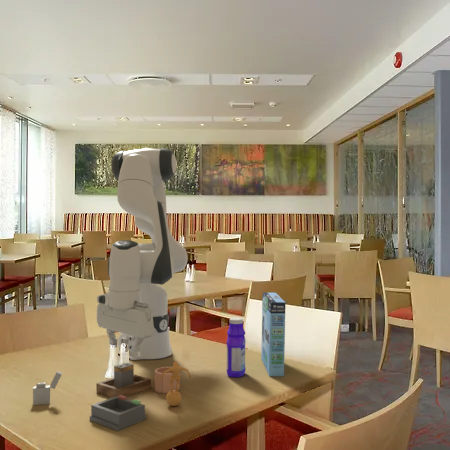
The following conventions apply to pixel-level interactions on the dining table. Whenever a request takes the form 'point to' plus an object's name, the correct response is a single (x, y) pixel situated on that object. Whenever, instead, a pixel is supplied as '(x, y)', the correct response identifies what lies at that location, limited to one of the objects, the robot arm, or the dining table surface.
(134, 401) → the tray
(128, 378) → the battery
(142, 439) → the dining table surface
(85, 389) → the dining table surface
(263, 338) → the gum box
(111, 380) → the brown wooden tray
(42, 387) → the lighter
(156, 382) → the pink octagonal pot
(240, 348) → the bottle
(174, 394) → the figurine
